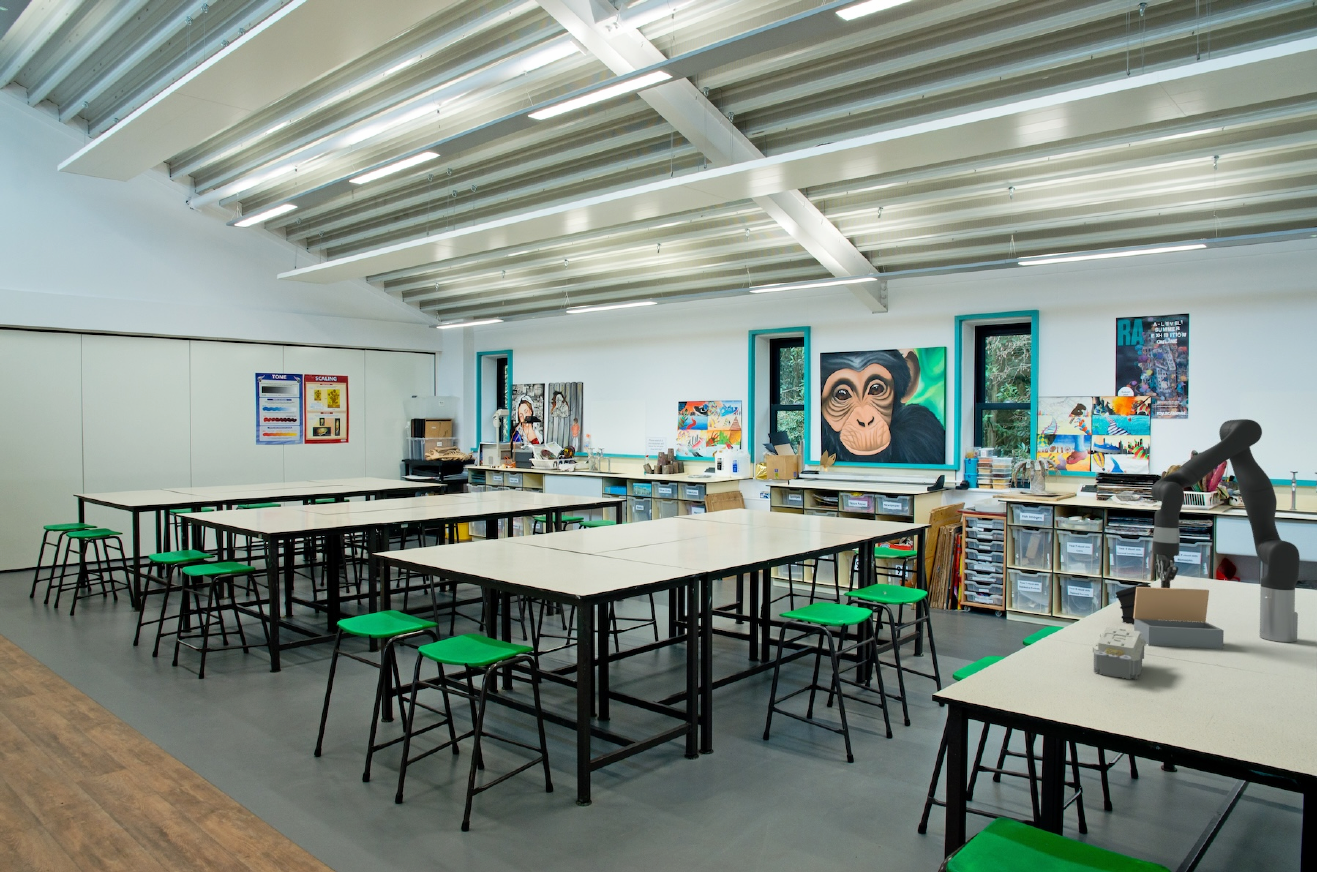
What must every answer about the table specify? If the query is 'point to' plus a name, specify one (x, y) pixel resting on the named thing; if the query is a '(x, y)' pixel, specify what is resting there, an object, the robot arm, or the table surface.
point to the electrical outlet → (1119, 653)
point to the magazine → (1128, 602)
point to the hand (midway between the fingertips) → (1165, 591)
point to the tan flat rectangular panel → (1171, 604)
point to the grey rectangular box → (1179, 633)
